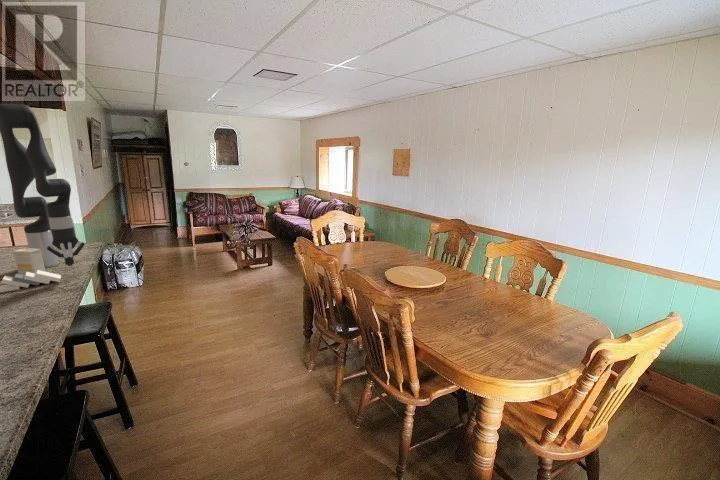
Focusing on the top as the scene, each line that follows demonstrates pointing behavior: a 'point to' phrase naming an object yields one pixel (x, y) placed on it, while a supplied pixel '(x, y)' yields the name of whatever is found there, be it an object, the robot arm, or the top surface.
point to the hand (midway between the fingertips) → (70, 265)
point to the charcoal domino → (24, 280)
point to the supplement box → (28, 260)
